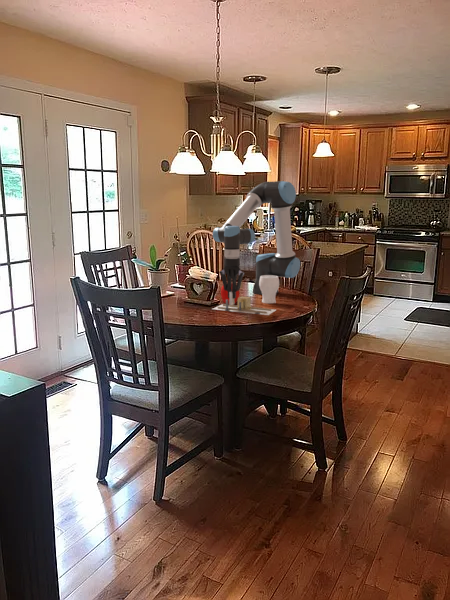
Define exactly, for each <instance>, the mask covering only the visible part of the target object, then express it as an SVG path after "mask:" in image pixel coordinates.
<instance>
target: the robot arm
mask: <svg viewBox="0 0 450 600" xmlns="http://www.w3.org/2000/svg"><path fill="white" fill-rule="evenodd" d="M296 191H297V190H296V188H295V186H294V184H292V182H290V181H284V180H281V181H279V180H278V181H264V182H261V183H259V184H257V185H256V186H255V187H253V188H252V189H251V190H249V192H248V193H247V194H246V196H245V199H244V200H243V202H242V203H241V204H240V205H239V206H238V207H237V209H236V210H235V211H234V212H233V214H231V215H230V217H229V218H228V219H227V220H226V222H225V223H224V224H223V225H222V226H221V227H214V229H213V231H212V239H213V240H214V241H215V242H218V243H223V245H224V248H223V249H224V251H223V252H224V254H223V255H224V259H223V260H224V262H223V263H224V266H223V269H222V270H220V271H219V272H218V273H219V275H220V276H221V277H220V278H221V282H222V286H224V290H226V291H228V298H229V304H228V305H235V303H234V298H236V291H239V292H240V291H241V285H242V281H243V277H244V276H245V272H244V271H242V270H241V266H240V264H241V263H240V257H241V256H240V254H241V251H240V249H241V248H240V245H245V244H246V245H248V244H251V243H253V242H254V241H255V239H256V233H255V231H254V230H253V229H252V228H241V227H242V225H244V224H245V222H246V221H247V220H248V219H249V217H250V216H251V215H252V214H253V212H254V211H256V210H257V209H258V208H260V207H261V206H262V205H263V204H270V209H272V210H273V212H274V213H273V215H274V225H275V226H274V227H275V239H276V240H275V241H276V253H275V252H271V253H262V254H258V255H256V258H255V259H256V260H255V281H254V284H253V287H252V293H254V294H256V295H262V292H261V290H260V287H259V280H260V276H264V275H274V276H278V278H279V277H280V278H286V279H288V278H289V279H293V278H295V277H297V275H298V273H299V271H300V268H301V260H300V258H298V257H296V252H295V251H294V250H293V240H292V239H293V238H292V237H293V236H292V225H291V224H292V222H291V208H292V206H293V203H294V202H295V201H296V198H297V192H296ZM236 285H237V286H236ZM277 294H279V289H278V290H277V292H276V295H277Z"/></svg>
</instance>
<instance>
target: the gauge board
mask: <svg viewBox="0 0 450 600" xmlns="http://www.w3.org/2000/svg"><path fill="white" fill-rule="evenodd" d="M212 310H214V311H215V310H217V311H225V312H232V313H233V312H235V313H246V314H253V315H254V314H255V315H264V316H270V315H271V314H273V313H274V312H276V311H277V309H272V308H268V307H267V308H266V307H265V308H264V307H257V306H255V307H253V306H251V309H250V310H246V309H241V311H239V309H238V304H237V305H235V304H234V305H229V304H228V300H226V303H223V304H219V305H217V306H216V307H214V308H213V307H212Z"/></svg>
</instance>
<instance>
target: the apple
mask: <svg viewBox="0 0 450 600" xmlns="http://www.w3.org/2000/svg"><path fill="white" fill-rule="evenodd" d="M236 286H237V284H236ZM220 297H221V299H222V302H223V304H226V300H228V305H229V298H228V291H226V290H224V286H223V285H222V286H221V289H220ZM239 297H240V290H239V291H236V298H234V304H236V303H238V298H239Z"/></svg>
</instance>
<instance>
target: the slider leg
mask: <svg viewBox="0 0 450 600" xmlns="http://www.w3.org/2000/svg"><path fill="white" fill-rule="evenodd" d="M251 301H252V297H251V296H239V298H238V300H237V306H238V309H239V311H241V309H246V310H250V309H251V307H252V305H251V304H252V302H251Z"/></svg>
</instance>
